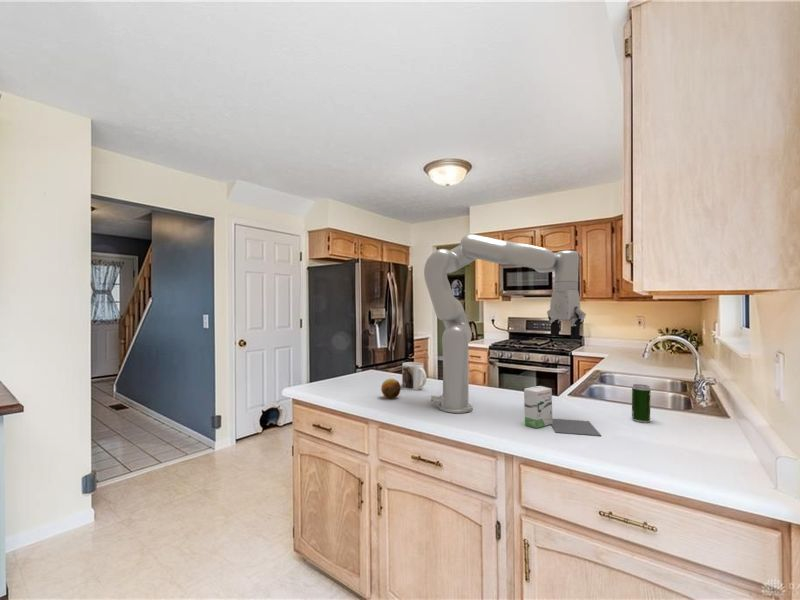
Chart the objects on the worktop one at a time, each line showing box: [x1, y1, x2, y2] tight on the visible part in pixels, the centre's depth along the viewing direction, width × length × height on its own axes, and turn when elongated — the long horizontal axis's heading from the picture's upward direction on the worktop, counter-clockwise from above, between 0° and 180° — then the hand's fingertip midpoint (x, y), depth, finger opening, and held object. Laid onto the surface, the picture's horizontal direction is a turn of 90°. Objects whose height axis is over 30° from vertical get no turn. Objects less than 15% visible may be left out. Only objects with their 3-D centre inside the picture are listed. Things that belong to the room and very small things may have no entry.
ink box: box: [523, 385, 553, 429], centre depth 127 cm, size 9×5×12 cm, turn 123°
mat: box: [550, 418, 602, 437], centre depth 125 cm, size 13×14×1 cm
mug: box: [401, 361, 427, 391], centre depth 177 cm, size 10×12×11 cm
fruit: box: [380, 378, 402, 400], centre depth 159 cm, size 8×8×8 cm
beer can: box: [631, 383, 652, 424], centre depth 132 cm, size 5×5×12 cm
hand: (564, 336), depth 133 cm, fingers open, 9 cm apart
